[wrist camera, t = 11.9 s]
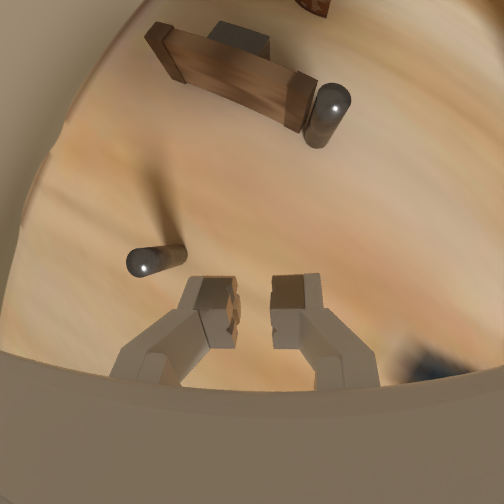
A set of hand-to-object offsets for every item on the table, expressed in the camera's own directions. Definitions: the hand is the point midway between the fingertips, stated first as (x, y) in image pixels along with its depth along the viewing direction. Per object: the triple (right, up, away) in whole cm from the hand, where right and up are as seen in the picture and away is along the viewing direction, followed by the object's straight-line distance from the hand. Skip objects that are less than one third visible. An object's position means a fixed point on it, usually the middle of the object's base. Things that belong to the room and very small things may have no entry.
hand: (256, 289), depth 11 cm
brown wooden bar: (-2, +16, +18) cm, 24 cm away
